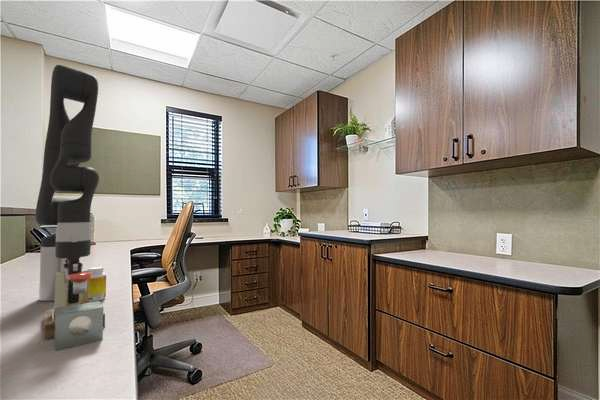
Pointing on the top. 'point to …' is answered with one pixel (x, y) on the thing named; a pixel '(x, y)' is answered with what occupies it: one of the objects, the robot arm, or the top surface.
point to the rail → (50, 325)
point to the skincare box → (66, 292)
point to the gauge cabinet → (78, 325)
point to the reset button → (79, 282)
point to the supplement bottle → (97, 284)
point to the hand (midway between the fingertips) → (72, 299)
